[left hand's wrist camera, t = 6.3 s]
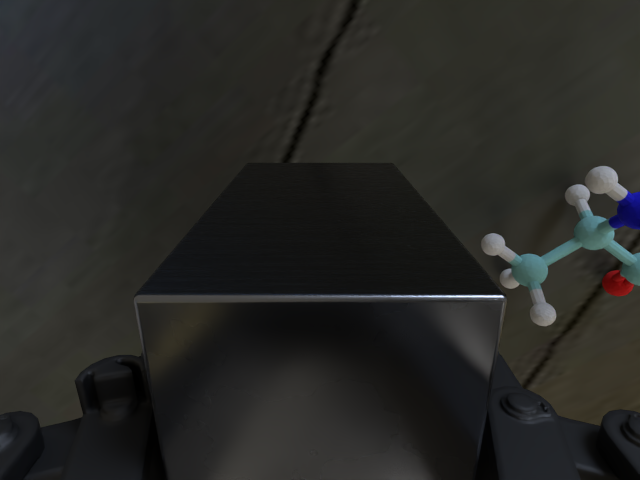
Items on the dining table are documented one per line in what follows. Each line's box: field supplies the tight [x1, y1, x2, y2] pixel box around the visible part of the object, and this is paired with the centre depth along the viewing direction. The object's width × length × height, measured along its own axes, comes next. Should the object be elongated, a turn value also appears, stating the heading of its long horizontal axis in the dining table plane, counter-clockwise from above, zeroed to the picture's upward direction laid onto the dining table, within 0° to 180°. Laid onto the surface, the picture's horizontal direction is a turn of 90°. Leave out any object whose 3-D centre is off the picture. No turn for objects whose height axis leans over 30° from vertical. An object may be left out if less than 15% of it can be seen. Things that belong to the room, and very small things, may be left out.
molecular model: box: [481, 166, 640, 326], centre depth 22 cm, size 12×10×10 cm
